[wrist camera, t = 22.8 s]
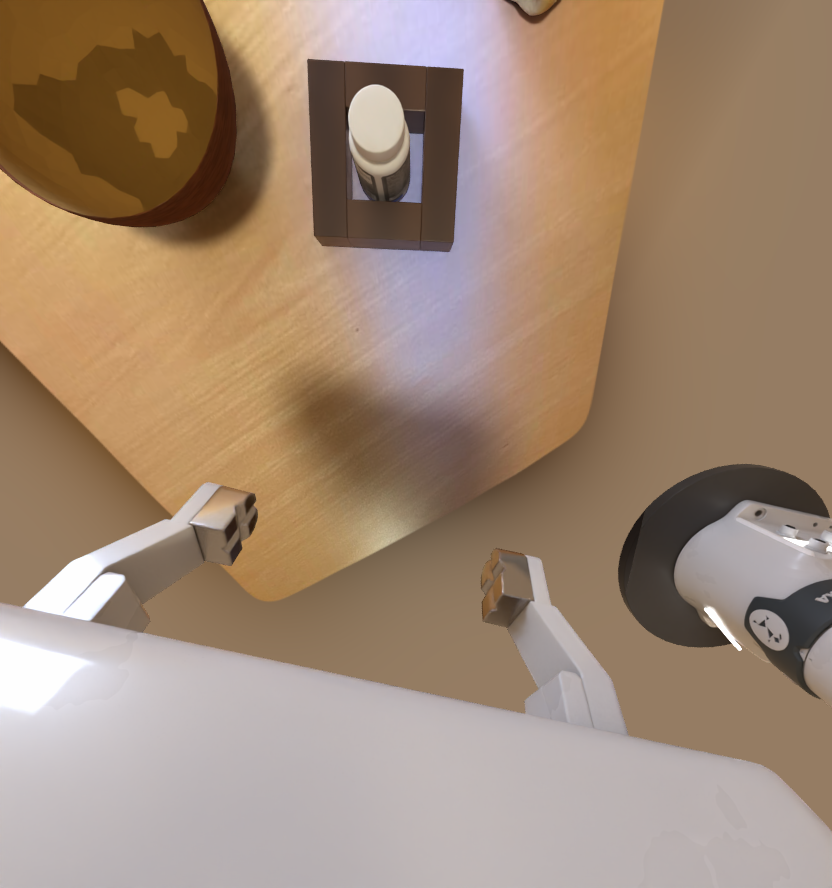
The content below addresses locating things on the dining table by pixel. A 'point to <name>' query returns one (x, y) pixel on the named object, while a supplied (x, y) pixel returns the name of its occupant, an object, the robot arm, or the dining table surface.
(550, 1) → the pastry
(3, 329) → the dining table surface
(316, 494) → the dining table surface
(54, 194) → the bowl
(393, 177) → the pill bottle
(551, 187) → the dining table surface
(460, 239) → the dining table surface
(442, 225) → the dock
